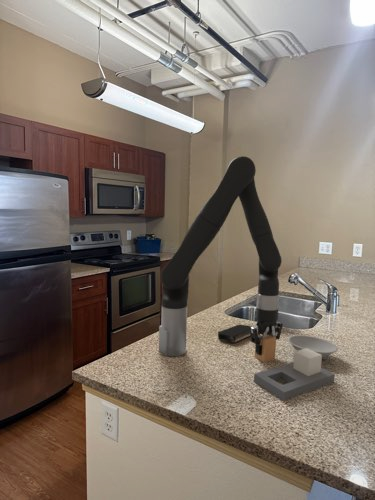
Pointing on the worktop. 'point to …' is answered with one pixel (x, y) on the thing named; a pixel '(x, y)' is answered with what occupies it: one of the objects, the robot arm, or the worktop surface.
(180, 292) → the robot arm
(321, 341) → the dish
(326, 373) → the square-hole base plate
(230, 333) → the black sponge
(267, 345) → the plug
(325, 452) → the worktop surface
